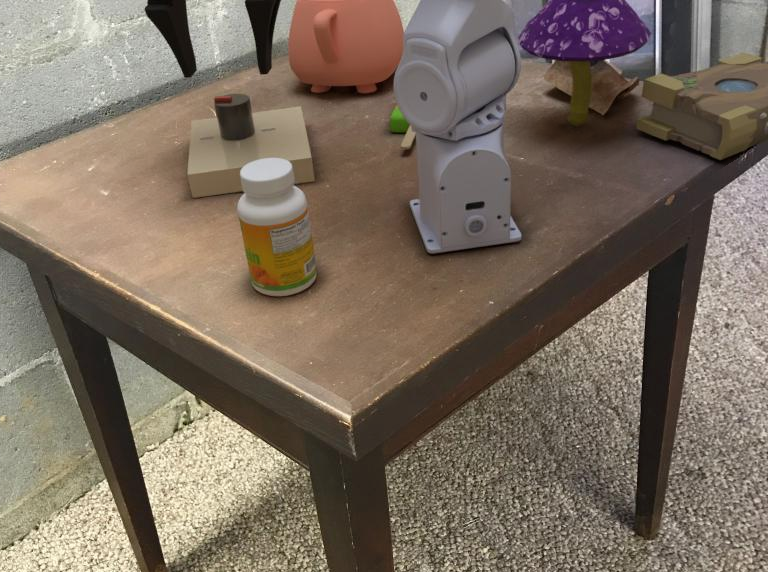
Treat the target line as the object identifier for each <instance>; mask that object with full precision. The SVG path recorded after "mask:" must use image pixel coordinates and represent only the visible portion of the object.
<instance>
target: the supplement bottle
mask: <svg viewBox="0 0 768 572" xmlns="http://www.w3.org/2000/svg"><path fill="white" fill-rule="evenodd" d="M240 178H241V184H242V188H243V191H242V192H243V194H242V195H241V196H240V198H239V200H238V202H237V205H236V209H237V215H238V221H239V227H240V231H241V237H242V241H243V246H244V251H245V256H246V261H247V266H248V270H249V271H248V272H249V277H250V281H251V285H252V286H253V288H254V289H255V290H256V291H257V292H259V293H261V294H263V295H266V296H271V297H287V296H292V295H295V294H298V293H301V292H302V291H305V290H306V289H308V288H309V287H311V286H312V285H313V283H314V282H315V281H316V279H317V275H318V274H317V273H318V272H317V263H316V254H315V249H314V243H313V236H312V229H311V221H310V214H309V207H308V202H307V198H306V195H305V193H304V192H303V191H302V190H301V189H300V188H299V187H297V186H296V185H295V184H294V180H295V177H294V173H293V167H292V164H291V163H290V162H289V161H287V160H285V159H281V158H264V159H259V160H256V161H253V162H250V163H248V164H246V165H245V166H244V167H243V168H242V169H241V171H240Z"/></svg>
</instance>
